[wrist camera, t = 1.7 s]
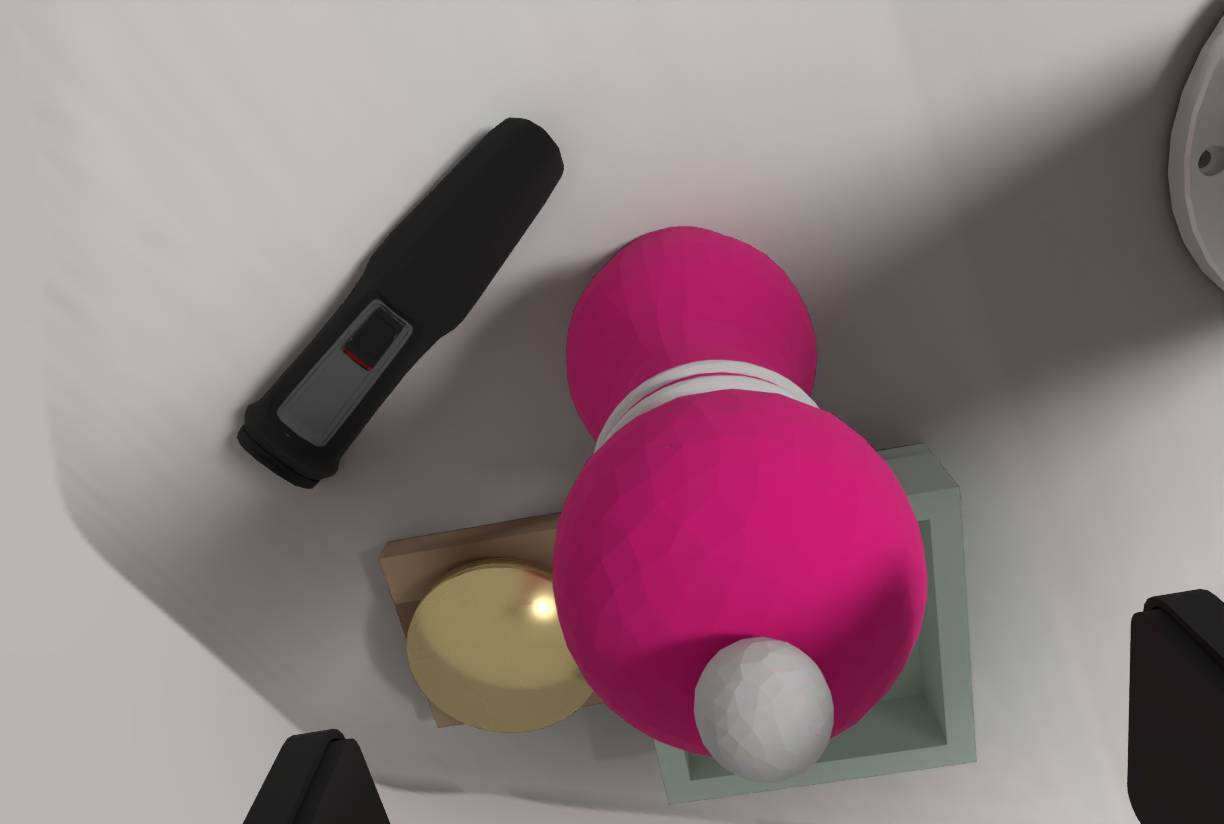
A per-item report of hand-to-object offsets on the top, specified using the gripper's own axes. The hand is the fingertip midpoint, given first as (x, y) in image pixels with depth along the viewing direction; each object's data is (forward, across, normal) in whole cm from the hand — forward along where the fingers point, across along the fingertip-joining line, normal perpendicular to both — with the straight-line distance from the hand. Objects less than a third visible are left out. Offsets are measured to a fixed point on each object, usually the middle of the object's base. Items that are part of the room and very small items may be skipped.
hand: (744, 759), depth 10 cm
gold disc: (+20, +8, +10) cm, 24 cm away
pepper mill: (+20, -1, 0) cm, 20 cm away
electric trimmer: (+21, +9, -2) cm, 23 cm away
